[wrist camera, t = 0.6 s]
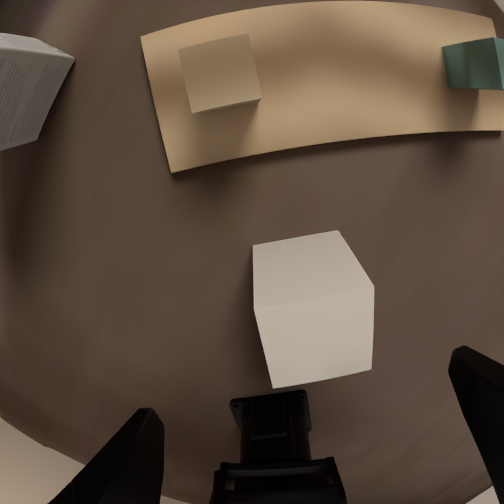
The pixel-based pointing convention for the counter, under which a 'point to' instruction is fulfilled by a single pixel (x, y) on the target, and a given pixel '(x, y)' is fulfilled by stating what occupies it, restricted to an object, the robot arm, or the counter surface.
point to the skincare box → (27, 86)
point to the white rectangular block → (312, 309)
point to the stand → (320, 77)
